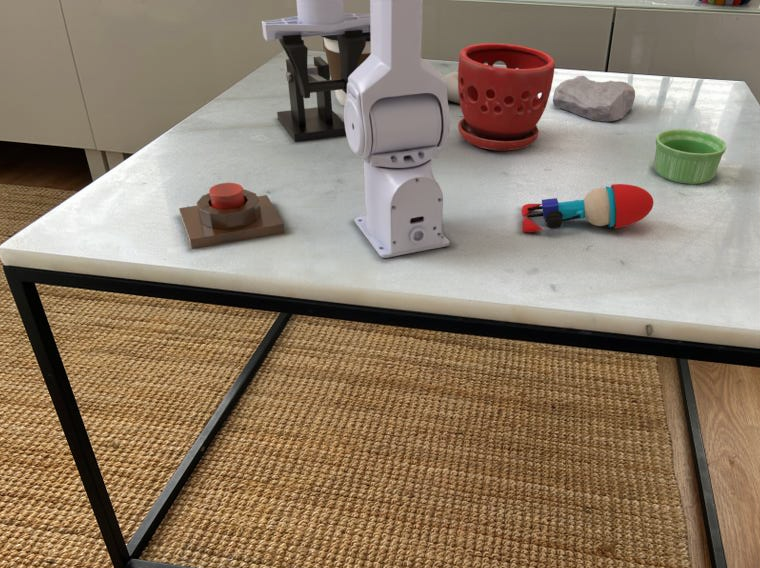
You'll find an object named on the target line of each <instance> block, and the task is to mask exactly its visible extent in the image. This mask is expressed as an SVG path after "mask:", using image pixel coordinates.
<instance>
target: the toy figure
mask: <svg viewBox="0 0 760 568" xmlns="http://www.w3.org/2000/svg"><path fill="white" fill-rule="evenodd" d="M654 202H655V201H654V198H653V195H652V194H651V193H650V192H649V191H648V190H646V189H645V188H642V187H640V186H639V185H638V186H637V185H633V184H627V183H614V184H611V185H610V186H605V187H596V188H594V189H592V190H590V191H589V192H587V194H586V195H585V196H584V197H583V199H575V200H572V201H571V200H569V201H560V202H559V200H558V198H557V197H554V198H553V197H552V198H546V199H545V198H544V199H541V203H525V204H523V205H522V207H521V215H522V217H524V218H523V220H522V231H523V232H524V233H532V232H538V231H542V230H544V228H543V227H541V226H539V225H538V224H536V223H535V222H534V221H533V220H532V218H541V217H543V219H544V221H545V223H546V227H547V228H549V229H558V228H561V227H562V226H563V225H564V224H563V222H569V221H575V220H583V219H585V220H586V221H587V222H588V223H589V224H591V225H592V226H597V227H604V226H607V227H608V228H614V229H619V228H624V227H628V226H631V225H634V224H636V223H638V222H640V221H642V220H643V219H645V218H647V216H648V215H649V214H650V212H651V211H652V210H653V207H654V205H655V204H654ZM539 210H541V211H542V212H539V213H538V212H537V213H533V212H534V211H539Z"/></svg>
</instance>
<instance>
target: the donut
mask: <svg viewBox="0 0 760 568" xmlns="http://www.w3.org/2000/svg"><path fill="white" fill-rule="evenodd" d="M443 78H444V80H445V82H446V83H447V99H448V101H449V102H451V103H454V104H459V105H460V101H459V93H458V70H457V71H453V72H449V73H447V74H446V75H444V76H443Z"/></svg>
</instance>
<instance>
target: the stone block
mask: <svg viewBox="0 0 760 568" xmlns="http://www.w3.org/2000/svg"><path fill="white" fill-rule="evenodd" d="M635 98H636V90H635V88H634V87H633V86H632V85H630V83H628V82H626V81H621V80H620V81H618V80H617V81H616V80H615V81H614V80H607V81H595V80H591V79H589V78H588V77H587V76H585V75H577V76H576V77H574V78H570V79H565V80H564V81H561V82H560V83H559V84H558V85H557V86H556V87H555V89H554V92H553V95H552V105H553V106H555V107H556V108H558V109H562V110H564V111H567V112H570V113H572V114H574V115H576V116H580V117H582V118H586V119H588V120H591V121H595V122H604V123H605V122H608V123H610V122H615V121H619V120H623V119H624V117H625V116H626V115H627V114H628V113H629V112H630V111H631V110H632V108H633V106H634V103H635Z"/></svg>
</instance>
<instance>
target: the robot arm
mask: <svg viewBox="0 0 760 568" xmlns="http://www.w3.org/2000/svg"><path fill="white" fill-rule="evenodd" d="M369 1H370V2H369V9H370V10H369V11H370V12H369V13H345V6H344V0H296V12H297V15H295V16H290V17H288V16H287V17H283V18H277V19H276V18H275V19H270V20H261V27H262V28H261V29H262V36H263V38H264V40H265V41H266V42H275V41H276V40H278V41H279V43H280V45H281V46H282V48H283V50H284V52H285V54H286V55H287V59H289V60H290V62H291V64H292V67H293V69H294V72H295V74H296V77H297V80H298V83H299V87H300V91H301V95H302V96H303V97H304V99H310V98H311V93H310V87H309V80H308V68H307V65H308V54H309V53H308V52H309V51H308V50H309V49H308V46H306V45H305V41H304V39H302V38H309V37H310V38H311V37H321V36H325V35H337V40H338V47H339V54H340V64H341V79H344V80H345V84H346V88H345V89H342V90H343V91H344V92H345V93H346V94H347V97H346V103H345V106H344V105H343V106H344V107H343V122H344V124H345V131H346V136H345V137H346V139H347V142H348V145H349V148H350V150H351V151H352V152H353V153H354V154H355V155H356V156H357V157H358V158H359V159H362V160H363V175H364V176H363V177H364V179H363V181H364V182H363V183H364V200H365V202H364V203H365V215H359V216H356V217H354V220H353V221H354V223H355V224H356V226H357V227H358V229H359V231H361V232H362V235H364V236H365V238H366V239H367V241H368V242H369V243H370V245H371V246H372V247H373V249H374V250H375V252H376V253H377V254H378V255H379V257H380V258H382V259H387V258H393V257H398V256H403V255H408V254H413V253H419V252H423V251H424V252H425V251H429V250H435V249H440V248H445V247H448V246H450V240H449V239H448V238H447V237H446V236H445V234H444V233H443V216H444V215H443V213H444V211H443V210H444V195H443V191H442V188H441V186H440V185H439V182H438V181H437V180H436V178H435V176H434V174H433V167H432V161H433V159H436V158H438V155H439V154H438V152H439V150H438V149H440V148H442V147H444V146H445V144H446V142H447V140H448V138H449V135H450V131H451V113H450V112H451V111H450V107H449V102H448V101H449V100H448V99H447V83H446V82H445V80H444V78H443V77H444V76H443V74H442V73H441V72H440V71H439V70H438V69H437V68H435V66H433V65H432V64H430V63H429V62H428V61H426V60H425V59H424V58H422V41H423V40H422V39H423V10H424V0H369ZM364 32H370V33H371V54H370V56H369V57H368V58H367V59H366V60H365V61H364V62H363V63H362V64H361V65H360V66H359V67H358V68H357V69H356V67H357V64H358V61H359V58H360V56H361V54H362V52H363V50H364V48H365V45H366V38H365V37H364V36H363V33H364Z"/></svg>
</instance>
